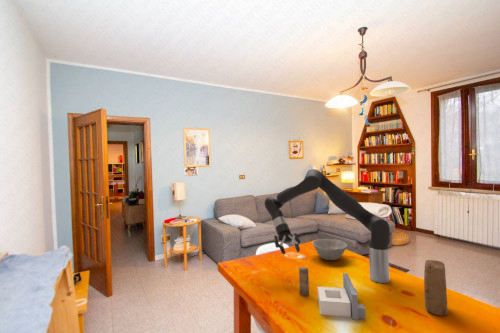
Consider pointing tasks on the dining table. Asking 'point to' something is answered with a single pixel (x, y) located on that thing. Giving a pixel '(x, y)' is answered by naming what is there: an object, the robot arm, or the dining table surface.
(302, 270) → the dowel
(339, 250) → the ceramic bowl
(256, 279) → the dining table surface
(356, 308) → the backstop
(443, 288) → the block
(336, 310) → the socket
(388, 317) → the dining table surface
